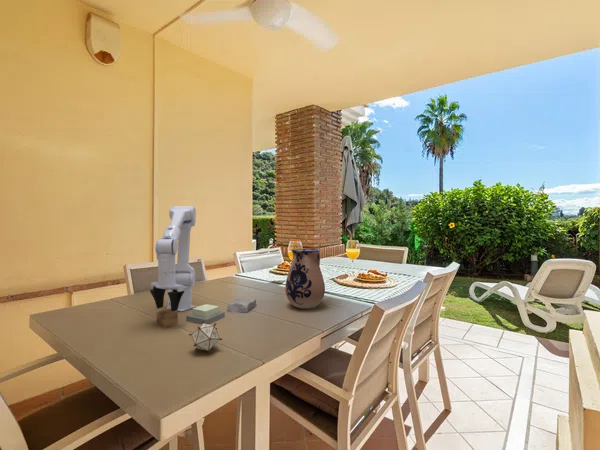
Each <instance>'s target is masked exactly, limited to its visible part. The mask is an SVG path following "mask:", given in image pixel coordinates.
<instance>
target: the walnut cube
mask: <svg viewBox="0 0 600 450" xmlns="http://www.w3.org/2000/svg"><path fill="white" fill-rule="evenodd" d="M178 315H179V311H178V310H176V311H171V309H166V308H165V309H163V310H160V311H157V312H156V327H160V328H164V329H168V328H170V327H172V326H175V325H177V324H178V323H179V322H178V321H179V318H178V317H179V316H178Z"/></svg>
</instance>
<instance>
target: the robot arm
mask: <svg viewBox="0 0 600 450" xmlns="http://www.w3.org/2000/svg"><path fill="white" fill-rule="evenodd" d="M168 211H169V213H168V215H169V219H170V222H169V223H170V224H169V225H167V226H166V227H165V229H164V231H163V233H162V236H161V238H160V239H158V240H156V242H155V247H154V248H155V249H154V250H155V255H156V260H157V271H158V273H157V274H158V275H157V278H158V279H157V280H158V281H153V282H151V283H150V288H151V289H150V290H149V292H150V294H151V296H152V297H153V300H154V303H155V306H156V309H158V310H159V309H163V307H164V302H165V301H164V299H165V293H166V290H168V291H167V307H166V308H165V309H171V311H176V310H178V312H184V311H187V310H191V309H193V308H196V307H197V305H194V304H192V288H193V287H194V285H195V284H196V271H195V268H194V267H193V266H191V265H190V264H189V263H190V262H189V261H190V243H191V229H192V227H194V226H195V225H196V222H197V221H196V220H197V219H196V217H197V213H196V208H195V206H194V205H191V206H189V205H187V206H186V205H185V206H184V205H183V206H182V205H177V206H175V205H171V206H170V207H169V209H168ZM176 255H177V259H176Z"/></svg>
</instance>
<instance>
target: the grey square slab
mask: <svg viewBox="0 0 600 450" xmlns="http://www.w3.org/2000/svg"><path fill="white" fill-rule="evenodd" d="M225 315H226V312H224V311H220V310H219V313H218V314H215V315H212V316H210V317H207V318H203V317H199V316H194V315H192V313H190V314H188V315H186V316H185V321H186V322H189V323H194V324H199V325H202V321H204V323H205V324H210V325H211V323H215V322H216V321H219V320H221V319H224V318H225Z"/></svg>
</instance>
